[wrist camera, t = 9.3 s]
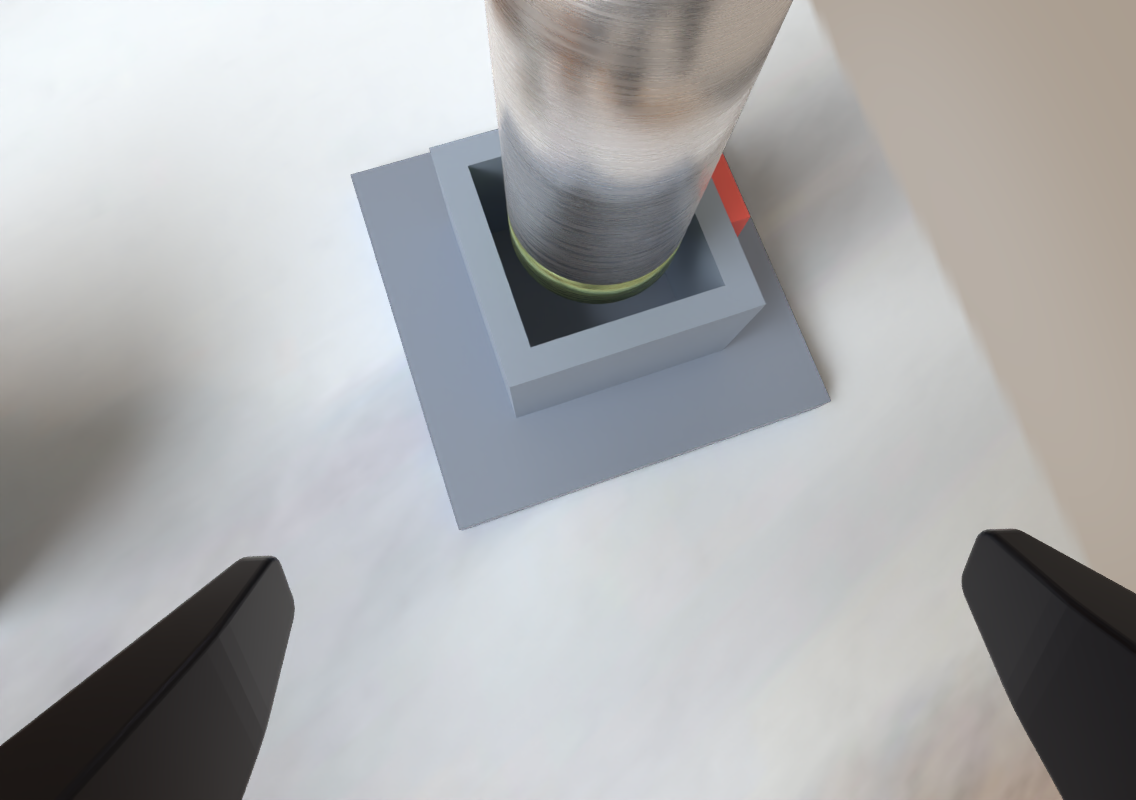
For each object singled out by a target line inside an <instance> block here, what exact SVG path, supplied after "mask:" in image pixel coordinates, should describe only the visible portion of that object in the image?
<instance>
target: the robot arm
mask: <svg viewBox="0 0 1136 800" xmlns="http://www.w3.org/2000/svg"><path fill="white" fill-rule="evenodd" d="M962 589H963V593H964V596H965V598H966V601H967V603H968V605H969V608H970V610H971V612H972V615H973V617H974V619H975V622H976V624H977V626H978V629H979V631H980V633H981V636H982V638H983V640H984V643H985V645H986V647H987V650H988V652H989V654H990V657H991V659H992V661H993V664H994V666H995V668H996V670H997V673H998V675H999V677H1000V680H1001V682H1002V684H1003V687H1004V689H1005V691H1006V693H1007V695H1008V698H1009V700H1010V702H1011V704H1012V706H1013V708H1014V710H1015V712H1016V714H1017V716H1018V718H1019V720H1020V722H1021V724H1022V725H1023V727H1024V729H1025V731H1026V733H1027V735H1028V737H1029V738H1030V740H1031V742H1032V744H1033V746H1034V747H1035V749H1036V751H1037V753H1038V755H1039V756H1040V758H1041V760H1042V762H1043V764H1044V766H1045V767H1046V769H1047V771H1048V773H1049V775H1050V776H1051V778H1052V780H1053V782H1054V784H1055V785H1056V787H1057V789H1058V791H1059V793H1060V795H1061V796H1062V798H1063V800H1136V594H1135V593H1134V592H1132V591H1130V590H1128V589H1126V588H1124V587H1123V586H1121V585H1119V584H1117V583H1115V582H1114V581H1112V580H1110V579H1108V578H1106V577H1105V576H1103V575H1101V574H1099V573H1097V572H1095V571H1094V570H1092V569H1090V568H1088V567H1086V566H1085V565H1083V564H1081V563H1079V562H1077V561H1075V560H1074V559H1072V558H1070V557H1068V556H1066V555H1065V554H1063V553H1061V552H1059V551H1057V550H1055V549H1054V548H1052V547H1050V546H1048V545H1046V544H1045V543H1043V542H1041V541H1039V540H1037V539H1035V538H1034V537H1032V536H1030V535H1028V534H1026V533H1025V532H1022V531H1020V530H1017V529H989V530H984V531H982V532H981V533H980V534H979V535H978V536H977V538H976V540H975V543H974V546H973V548H972V551H971V553H970V556H969V558H968V561H967V563H966V566H965V568H964V571H963V574H962ZM294 611H295V606H294V600H293V596H292V594H291V591H290V588H289V585H288V582H287V580H286V577H285V574H284V571H283V569H282V566H281V564H280V562H279V560H278V559H277V558H276V557H273V556H253V557H244V558H241V559H239V560H238V561H236V562H235V563H234V564H233V565H231V566H230V567H229V568H227V569H226V570H225V571H224V572H222V573H221V574H220V575H218V576H217V577H216V578H215V579H213V580H212V581H211V582H209V583H208V584H207V585H206V586H204V587H203V588H202V589H201V590H199V591H198V592H197V593H195V594H194V595H193V596H192V597H190V598H189V599H188V600H186V601H185V602H184V603H183V604H181V605H180V606H179V607H177V608H176V609H175V610H174V611H172V612H171V613H170V614H169V615H167V616H166V617H165V618H163V619H162V620H161V621H160V622H158V623H157V624H156V625H154V626H153V627H152V628H151V629H149V630H148V631H147V632H145V633H144V634H143V635H142V636H140V637H139V638H138V639H136V640H135V641H134V642H133V643H131V644H130V645H129V646H128V647H126V648H125V649H124V650H122V651H121V652H120V653H119V654H117V655H116V656H115V657H113V658H112V659H111V660H110V661H108V662H107V663H106V664H104V665H103V666H102V667H101V668H99V669H98V670H97V671H96V672H94V673H93V674H92V675H90V676H89V677H88V678H87V679H85V680H84V681H83V682H81V683H80V684H79V685H78V686H76V687H75V688H74V689H72V690H71V691H70V692H69V693H67V694H66V695H65V696H64V697H62V698H61V699H60V700H58V701H57V702H56V703H55V704H53V705H52V706H51V707H49V708H48V709H47V710H46V711H44V712H43V713H42V714H40V715H39V716H38V717H37V718H35V719H34V720H33V721H32V722H30V723H29V724H28V725H26V726H25V727H24V728H23V729H21V730H20V731H19V732H17V733H16V734H15V735H14V736H12V737H11V738H10V739H8V740H7V741H6V742H5V743H3V744H2V745H1V746H0V800H242V798H243V795H244V793H245V790H246V787H247V784H248V781H249V779H250V776H251V773H252V770H253V768H254V765H255V762H256V759H257V756H258V753H259V750H260V747H261V744H262V741H263V738H264V735H265V732H266V728H267V725H268V721H269V717H270V713H271V709H272V705H273V701H274V697H275V693H276V689H277V685H278V681H279V677H280V672H281V668H282V664H283V660H284V656H285V652H286V648H287V644H288V640H289V636H290V631H291V627H292V623H293V619H294Z"/></svg>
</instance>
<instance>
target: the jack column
mask: <svg viewBox="0 0 1136 800" xmlns="http://www.w3.org/2000/svg"><path fill="white" fill-rule="evenodd" d="M484 1H485V10H486V19H487V28H488V38H489V47H490V56H491V65H492V75H493V84H494V93H495V102H496V112H497V121H498V130H499V139H500V149H501V158H502V167H503V176H504V186H505V195H506V204H507V213H508V223H509V231H510V238H511V242H512V245H513V248H514V251H515V253H516V255H517V257H518V259H519V261H520V262H521V264H522V266H523V267H524V268H525V270H526V271H527V272H528V273H529V275H530V276H531V277H532V278H534V279H535V280H536V281H537V282H538V283H539V284H540V285H542V286H543V287H544V288H546V289H547V290H549V291H551V292H553V293H554V294H556V295H558V296H561V297H563V298H566V299H569V300H573V301H576V302H581V303H589V304H605V303H614V302H618V301H622V300H625V299H628V298H631V297H633V296H636V295H637V294H639V293H641V292H643V291H645V290H646V289H647V288H649V287H650V286H652V285H653V284H654V283H655V282H656V281H657V280H658V279H659V278H660V277H661V276H662V275H663V274H664V273H665V271H666V270H667V269H668V267H669V265H670V264H671V262H672V260H673V258H674V256H675V254H676V252H677V250H678V248H679V246H680V243H681V241H682V239H683V237H684V235H685V233H686V230H687V228H688V226H689V224H690V222H691V220H692V217H693V215H694V213H695V211H696V209H697V207H698V204H699V202H700V200H701V198H702V196H703V194H704V192H705V189H706V187H707V185H708V183H709V181H710V179H711V176H712V174H713V172H714V170H715V168H716V166H717V163H718V161H719V159H720V157H721V155H722V153H723V150H724V148H725V146H726V144H727V142H728V140H729V138H730V135H731V133H732V131H733V129H734V127H735V125H736V122H737V120H738V118H739V116H740V114H741V112H742V109H743V107H744V105H745V103H746V101H747V99H748V97H749V94H750V92H751V90H752V88H753V86H754V84H755V81H756V79H757V77H758V75H759V73H760V71H761V68H762V66H763V64H764V62H765V60H766V58H767V55H768V53H769V51H770V49H771V47H772V45H773V43H774V40H775V38H776V36H777V34H778V32H779V30H780V27H781V25H782V23H783V21H784V19H785V17H786V14H787V12H788V10H789V8H790V6H791V4H792V1H793V0H484Z"/></svg>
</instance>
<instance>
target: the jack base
mask: <svg viewBox="0 0 1136 800" xmlns="http://www.w3.org/2000/svg"><path fill="white" fill-rule="evenodd" d="M429 149H430V153H426V154H423V155H419V156H415V157H412V158H408V159H405V160H401V161H398V162H394V163H390V164H387V165H383V166H380V167H376V168H373V169H369V170H366V171H362V172H358V173H355V174H351V178H352V181H353V184H354V188H355V191H356V194H357V198H358V201H359V204H360V207H361V211H362V214H363V217H364V220H365V224H366V227H367V230H368V234H369V237H370V240H371V243H372V247H373V250H374V253H375V257H376V260H377V263H378V266H379V270H380V273H381V276H382V279H383V283H384V286H385V289H386V293H387V296H388V299H389V302H390V306H391V309H392V312H393V315H394V319H395V322H396V325H397V329H398V332H399V335H400V338H401V342H402V345H403V348H404V351H405V355H406V358H407V361H408V365H409V368H410V371H411V374H412V378H413V381H414V384H415V387H416V391H417V394H418V397H419V401H420V404H421V407H422V410H423V414H424V417H425V420H426V423H427V427H428V430H429V433H430V437H431V440H432V443H433V446H434V450H435V453H436V456H437V460H438V463H439V466H440V469H441V473H442V476H443V479H444V482H445V486H446V489H447V492H448V496H449V499H450V502H451V505H452V509H453V512H454V515H455V518H456V522H457V525H458V528H459V530H465V529H468V528H471V527H474V526H477V525H480V524H482V523H485V522H488V521H491V520H494V519H497V518H500V517H503V516H506V515H508V514H511V513H514V512H517V511H520V510H523V509H526V508H529V507H532V506H534V505H537V504H540V503H543V502H546V501H549V500H552V499H555V498H558V497H560V496H563V495H566V494H569V493H572V492H575V491H578V490H581V489H584V488H586V487H589V486H592V485H595V484H598V483H601V482H604V481H607V480H610V479H612V478H615V477H618V476H621V475H624V474H627V473H630V472H633V471H636V470H638V469H641V468H644V467H647V466H650V465H653V464H656V463H659V462H662V461H664V460H667V459H670V458H673V457H676V456H679V455H682V454H685V453H688V452H690V451H693V450H696V449H699V448H702V447H705V446H708V445H711V444H714V443H716V442H719V441H722V440H725V439H728V438H731V437H734V436H737V435H740V434H742V433H745V432H748V431H751V430H754V429H757V428H760V427H763V426H766V425H768V424H771V423H774V422H777V421H780V420H783V419H786V418H789V417H792V416H794V415H797V414H800V413H803V412H806V411H809V410H812V409H815V408H818V407H820V406H822V405H824V404H826V403H828V402H830V401H831V399H830V397H829V395H828V393H827V390H826V388H825V386H824V383H823V381H822V379H821V377H820V374H819V372H818V370H817V367H816V365H815V363H814V361H813V358H812V356H811V354H810V351H809V349H808V347H807V344H806V342H805V340H804V338H803V335H802V333H801V331H800V328H799V326H798V324H797V322H796V319H795V317H794V315H793V312H792V310H791V308H790V305H789V303H788V301H787V299H786V296H785V294H784V292H783V289H782V287H781V285H780V283H779V280H778V278H777V276H776V273H775V271H774V269H773V267H772V264H771V262H770V260H769V257H768V255H767V253H766V250H765V248H764V246H763V244H762V241H761V239H760V237H759V234H758V232H757V230H756V228H755V225H754V223H753V221H752V218H751V216H750V214H749V211H748V209H747V207H746V205H745V202H744V200H743V198H742V195H741V193H740V191H739V189H738V186H737V184H736V182H735V179H734V177H733V175H732V172H731V170H730V168H729V166H728V163H727V161H726V159H725V156H724V154H723V153H722V155H721V157H720V159H719V161H718V163H717V166H716V168H715V170H714V172H713V174H712V176H711V179H710V181H709V183H708V185H707V187H706V189H705V192H704V194H703V196H702V198H701V200H700V202H699V204H698V207H697V209H696V211H695V213H694V215H693V217H692V220H691V222H690V224H689V226H688V228H687V230H686V233H685V235H684V237H683V239H682V241H681V243H680V246H679V248H678V250H677V252H676V254H675V256H674V258H673V260H672V262H671V264H670V265H669V267H668V269H667V270H666V271H665V273H664V274H663V275H662V276H661V277H660V278H659V279H658V280H657V281H656V282H655V283H654V284H653V285H652V286H650V287H649V288H647V289H646V290H645V291H643V292H641V293H639V294H637V295H636V296H633V297H631V298H628V299H625V300H622V301H618V302H614V303H605V304H589V303H581V302H576V301H573V300H569V299H566V298H563V297H561V296H558V295H556V294H554V293H553V292H551V291H549V290H547V289H546V288H544V287H543V286H542V285H540V284H539V283H538V282H537V281H536V280H535V279H534V278H532V277H531V276H530V275H529V273H528V272H527V271H526V270H525V268H524V267H523V266H522V264H521V262H520V261H519V259H518V257H517V255H516V253H515V251H514V248H513V245H512V242H511V238H510V231H509V223H508V213H507V204H506V195H505V186H504V176H503V167H502V158H501V149H500V139H499V130H498V129H496V130H492V131H488V132H485V133H481V134H478V135H474V136H471V137H467V138H463V139H460V140H456V141H453V142H449V143H446V144H442V145H438V146H435V147H431V148H429Z"/></svg>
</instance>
